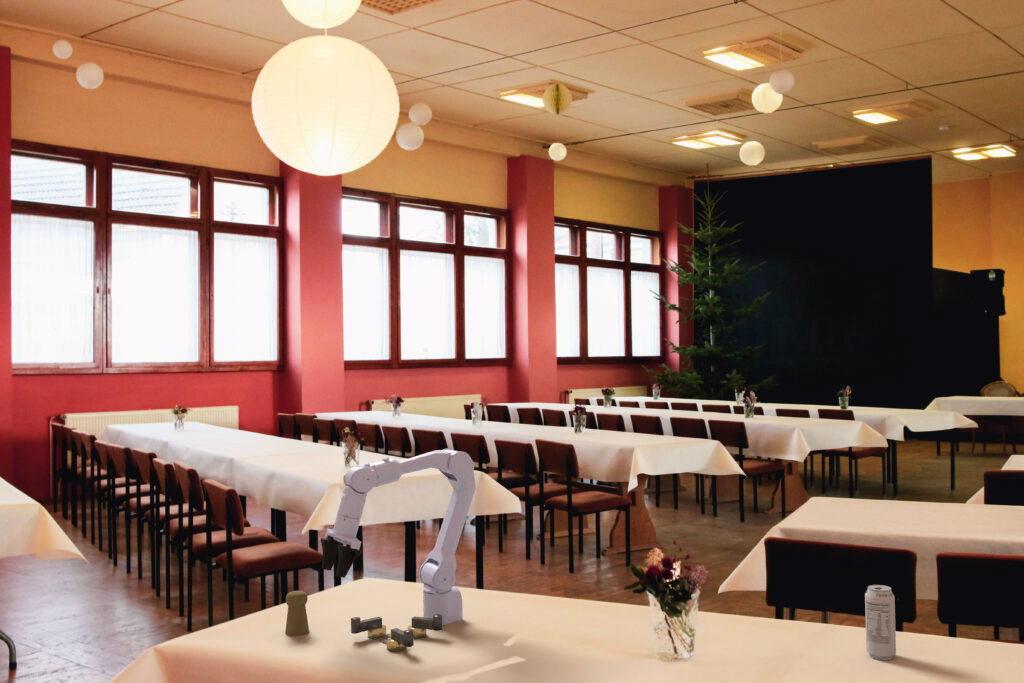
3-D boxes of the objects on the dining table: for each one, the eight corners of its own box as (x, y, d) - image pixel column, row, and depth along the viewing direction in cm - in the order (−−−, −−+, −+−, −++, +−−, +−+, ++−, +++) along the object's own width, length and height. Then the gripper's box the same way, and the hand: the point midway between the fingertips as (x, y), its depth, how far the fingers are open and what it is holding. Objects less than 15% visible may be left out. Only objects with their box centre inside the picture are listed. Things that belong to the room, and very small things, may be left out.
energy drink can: (901, 656, 197) (899, 587, 197) (888, 663, 193) (886, 592, 194) (874, 649, 202) (872, 582, 202) (861, 656, 198) (859, 587, 198)
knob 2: (383, 647, 207) (382, 625, 207) (400, 643, 209) (399, 621, 209) (402, 657, 200) (402, 634, 200) (419, 653, 202) (419, 630, 202)
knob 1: (380, 631, 219) (380, 610, 219) (389, 636, 215) (389, 614, 215) (347, 639, 213) (347, 617, 213) (356, 643, 210) (355, 621, 210)
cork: (303, 641, 216) (302, 595, 216) (280, 640, 217) (279, 594, 218) (314, 633, 222) (313, 588, 222) (291, 632, 223) (290, 587, 224)
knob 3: (404, 637, 214) (404, 615, 214) (413, 631, 218) (413, 610, 218) (437, 641, 211) (437, 618, 211) (446, 635, 215) (445, 613, 215)
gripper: (321, 508, 220) (305, 564, 218) (348, 519, 208) (332, 578, 206) (346, 513, 224) (331, 568, 222) (374, 524, 212) (358, 582, 210)
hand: (333, 573), depth 214 cm, fingers open, 7 cm apart
